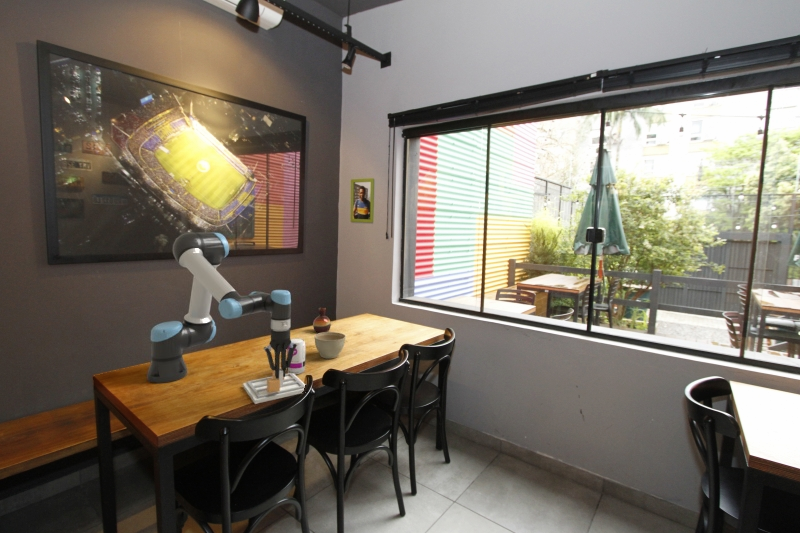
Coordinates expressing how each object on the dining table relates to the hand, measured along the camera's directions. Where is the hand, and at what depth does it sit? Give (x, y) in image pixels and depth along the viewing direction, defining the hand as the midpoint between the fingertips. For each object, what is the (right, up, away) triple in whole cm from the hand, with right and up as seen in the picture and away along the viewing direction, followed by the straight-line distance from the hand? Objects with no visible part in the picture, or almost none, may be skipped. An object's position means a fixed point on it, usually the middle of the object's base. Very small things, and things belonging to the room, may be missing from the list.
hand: (280, 384), depth 157 cm
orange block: (-4, -1, +10) cm, 10 cm away
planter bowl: (+12, +1, +47) cm, 48 cm away
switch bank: (-3, -3, +4) cm, 6 cm away
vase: (-1, +6, +90) cm, 90 cm away
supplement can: (0, -1, +24) cm, 24 cm away
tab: (-2, -2, -1) cm, 3 cm away
